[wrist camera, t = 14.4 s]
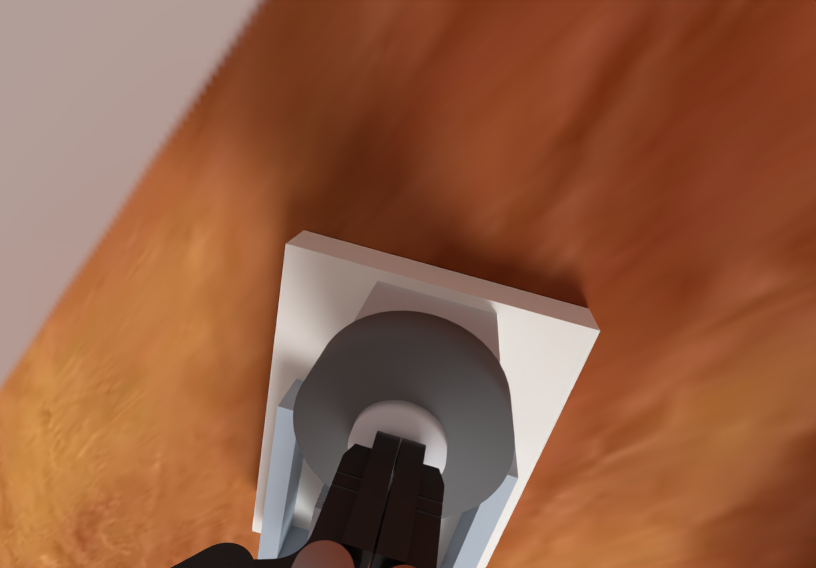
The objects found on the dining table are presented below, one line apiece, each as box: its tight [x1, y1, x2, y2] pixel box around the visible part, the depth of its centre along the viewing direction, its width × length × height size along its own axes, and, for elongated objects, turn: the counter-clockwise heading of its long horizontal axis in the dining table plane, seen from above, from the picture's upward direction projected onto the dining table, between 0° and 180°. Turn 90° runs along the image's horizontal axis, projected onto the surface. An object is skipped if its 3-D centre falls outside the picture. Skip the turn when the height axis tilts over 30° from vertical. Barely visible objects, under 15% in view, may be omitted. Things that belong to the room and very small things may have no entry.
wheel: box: [293, 310, 515, 519], centre depth 16 cm, size 7×7×6 cm
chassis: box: [252, 230, 600, 568], centre depth 20 cm, size 13×18×6 cm
